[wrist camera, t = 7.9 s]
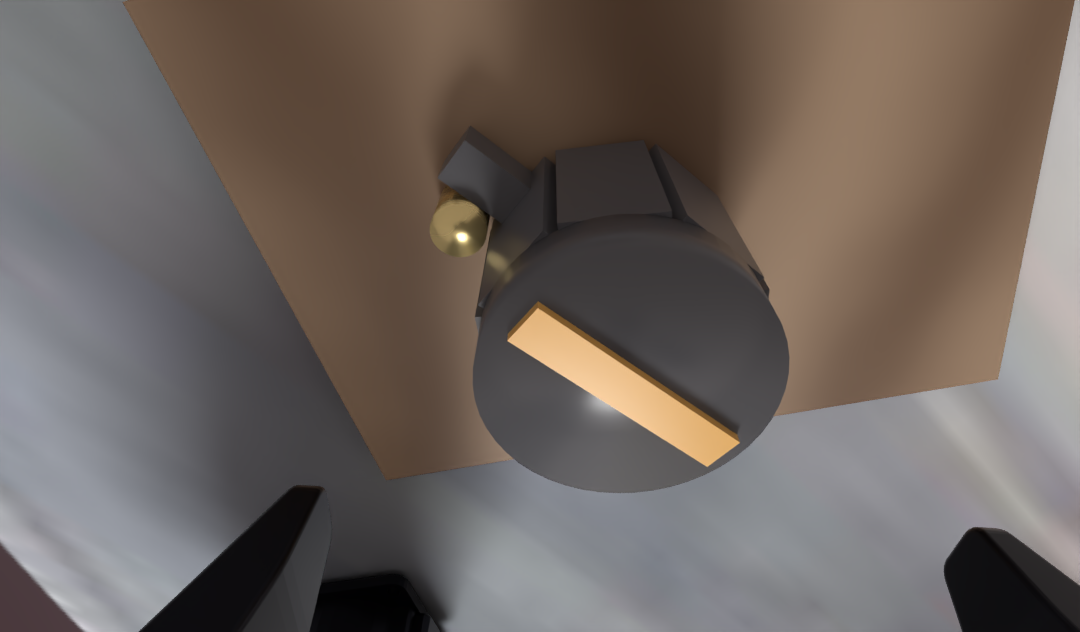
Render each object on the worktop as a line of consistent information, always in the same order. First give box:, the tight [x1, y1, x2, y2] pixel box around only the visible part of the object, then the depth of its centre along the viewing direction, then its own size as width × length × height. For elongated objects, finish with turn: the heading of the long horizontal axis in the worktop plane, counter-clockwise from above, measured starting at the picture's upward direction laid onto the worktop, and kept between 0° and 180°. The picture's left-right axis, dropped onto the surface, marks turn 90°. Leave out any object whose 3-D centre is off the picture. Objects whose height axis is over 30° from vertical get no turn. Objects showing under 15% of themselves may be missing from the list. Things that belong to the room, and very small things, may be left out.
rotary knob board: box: [123, 0, 1075, 480], centre depth 13 cm, size 18×14×5 cm
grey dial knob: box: [438, 126, 790, 493], centre depth 12 cm, size 7×5×5 cm
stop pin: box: [430, 185, 490, 257], centre depth 14 cm, size 1×1×2 cm
